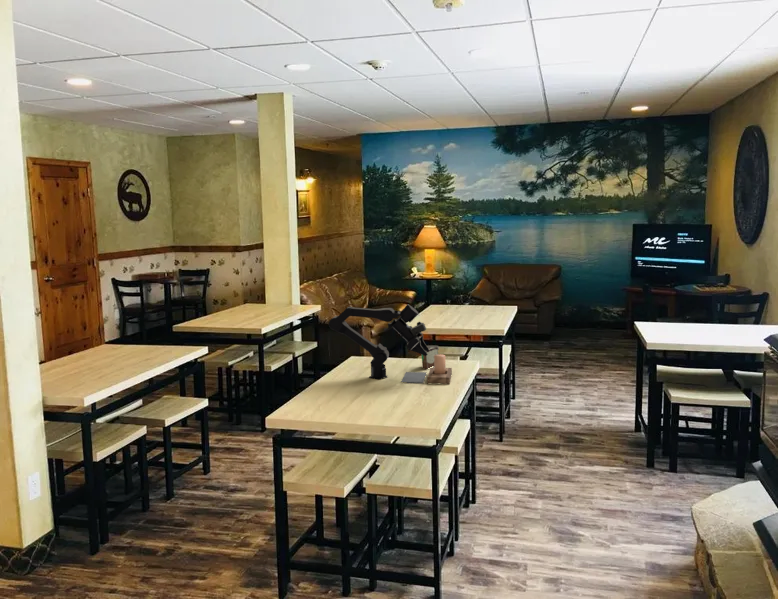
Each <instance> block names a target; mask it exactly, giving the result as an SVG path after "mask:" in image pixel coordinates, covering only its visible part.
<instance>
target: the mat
mask: <svg viewBox="0 0 778 599" xmlns="http://www.w3.org/2000/svg"><path fill="white" fill-rule="evenodd" d="M426 373H427V372H425V371H421V372H420V371H419V372H418V371H405V373H404V376H402V379H401V382H407V383H406V384H424V382H425V380H426V377H425V376H427V374H426ZM424 379H425V380H424Z"/></svg>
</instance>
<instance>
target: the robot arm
mask: <svg viewBox="0 0 778 599" xmlns="http://www.w3.org/2000/svg"><path fill="white" fill-rule="evenodd" d="M419 314H420V313H419V311H417V309H416V308H415V307H413V306H412V305H410V304H406V306H405V307H404V308H403V309H402V310H394V308H393V307H382V308H376V309H375V308H366V307H365V308H364V307H353V306H348V307H346V308H345V309H344V311H342V312H341V313H339V314H338V315H335V316H333V317H332V318H330V319H329V321H328V327H329V328H330V329H331V330H333V331H334V332H337V333H340V334H341V335H345V336H346V337H348V338H349V339H351V341H353V342H354V343H356V344H357V345H359V346H360V347H361V348H363V349H364V350H366V351H367V352H368V353H369V355H370V356H371V357H372V360H371V361H370V363H369V364H370V376H368V378H370V379H374V378H375V380H382V379H385V378H388V377H387V376H388V375H387V368H386V364H384V363H385V362H387V360H388V359H389V356H390V352H389V350H388V349H387V347H386V346H383V344H381V343H378V344H375V343H373V342H372V341H370V340H369V339H368V338H366V337H365V336H363V335H362V334H360V333H359V332H358V331H356V330H355V329H353V328H352V327H351V326H350V325H349V324H348V323H347V321H346V320H347V319H348V318H349V317H359V318H371V319H376V320H379V321H382V322H386V323H387V326H388V327H387V329H388V330H391V329H392V328H393V330H395V331H396V332H397V333H398V334H399V336H400V337H401V338H403V339H404V340H405V342H406V349H407V350H408V351H411V352H415V353H417V354H420V355H421V354H422V355H425V356H427V353H426V351H427V352H428V351H429V349H428V347H427V346H428V345H427V344H426V343H425V341H424V334H423V332H425V331H426V330H427V327H426V324H425V323H424V322H421V321H418V322H416V325H414V326H412V325H408V324H407V323H411V322H412V321H413V320H414V319H415V318H416V317H417V316H419ZM384 377H385V378H384ZM381 378H382V379H381Z"/></svg>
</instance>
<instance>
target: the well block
mask: <svg viewBox="0 0 778 599" xmlns="http://www.w3.org/2000/svg"><path fill="white" fill-rule="evenodd" d="M452 370H453V368H452V367H446V374H434V367H433V368H430V369H429V372H428V374H427V384H428V383H443V384H442V385H450V384H451V380H452V376H451V375H453V371H452Z"/></svg>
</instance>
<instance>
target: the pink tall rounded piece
mask: <svg viewBox="0 0 778 599" xmlns="http://www.w3.org/2000/svg"><path fill="white" fill-rule="evenodd" d="M446 361H447V360H446V355H445V354H443V353H441V354H439V353H438V354H437V355H434V367H433V368H434V374H446V368H447V367H446Z"/></svg>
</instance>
